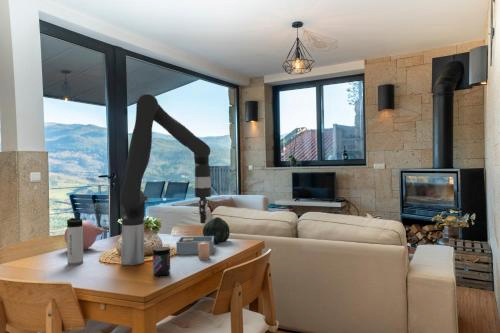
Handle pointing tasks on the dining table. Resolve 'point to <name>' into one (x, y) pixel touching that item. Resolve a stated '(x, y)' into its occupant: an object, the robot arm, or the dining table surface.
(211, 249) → the tote
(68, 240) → the travel mug
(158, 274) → the supplement container
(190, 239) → the walnut cube
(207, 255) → the terracotta cylinder
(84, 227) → the balloon
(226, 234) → the squash
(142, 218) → the robot arm
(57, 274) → the dining table surface
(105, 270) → the dining table surface
